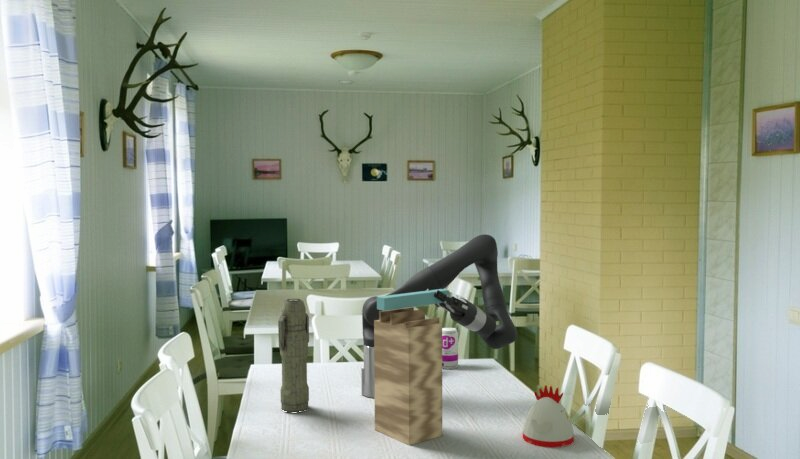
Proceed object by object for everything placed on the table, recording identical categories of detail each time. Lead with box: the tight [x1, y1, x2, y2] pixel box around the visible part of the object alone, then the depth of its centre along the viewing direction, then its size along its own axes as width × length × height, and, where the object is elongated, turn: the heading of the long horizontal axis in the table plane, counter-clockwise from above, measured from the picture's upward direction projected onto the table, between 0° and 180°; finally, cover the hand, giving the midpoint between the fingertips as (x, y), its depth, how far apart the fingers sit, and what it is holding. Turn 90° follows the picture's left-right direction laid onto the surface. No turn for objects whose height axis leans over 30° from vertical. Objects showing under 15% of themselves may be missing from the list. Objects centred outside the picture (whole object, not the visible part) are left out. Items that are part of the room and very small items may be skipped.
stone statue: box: [277, 298, 310, 413], centre depth 228 cm, size 9×12×35 cm
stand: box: [374, 307, 443, 446], centre depth 205 cm, size 12×16×35 cm
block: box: [377, 288, 450, 311], centre depth 208 cm, size 24×4×4 cm, turn 128°
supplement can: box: [442, 327, 459, 370], centre depth 282 cm, size 8×8×15 cm
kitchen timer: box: [522, 384, 575, 448], centre depth 200 cm, size 14×14×15 cm
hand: (431, 292), depth 212 cm, fingers closed on block, 3 cm apart
